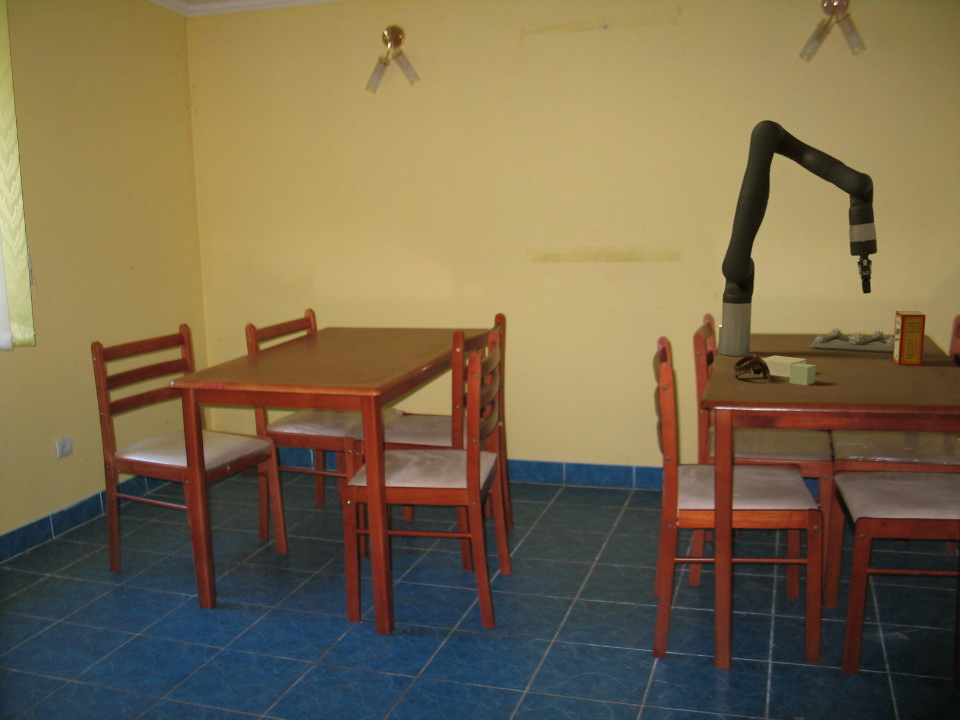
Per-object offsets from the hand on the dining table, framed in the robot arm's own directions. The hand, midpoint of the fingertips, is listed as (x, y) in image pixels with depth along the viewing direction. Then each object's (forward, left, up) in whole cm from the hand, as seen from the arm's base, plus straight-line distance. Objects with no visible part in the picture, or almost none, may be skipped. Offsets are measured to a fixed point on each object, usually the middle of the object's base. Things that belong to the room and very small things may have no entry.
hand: (866, 292), depth 274 cm
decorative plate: (-14, +31, -23) cm, 41 cm away
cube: (0, -41, -22) cm, 47 cm away
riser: (-11, -31, -22) cm, 40 cm away
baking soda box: (+10, +9, -22) cm, 26 cm away
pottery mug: (-12, -45, -22) cm, 52 cm away
